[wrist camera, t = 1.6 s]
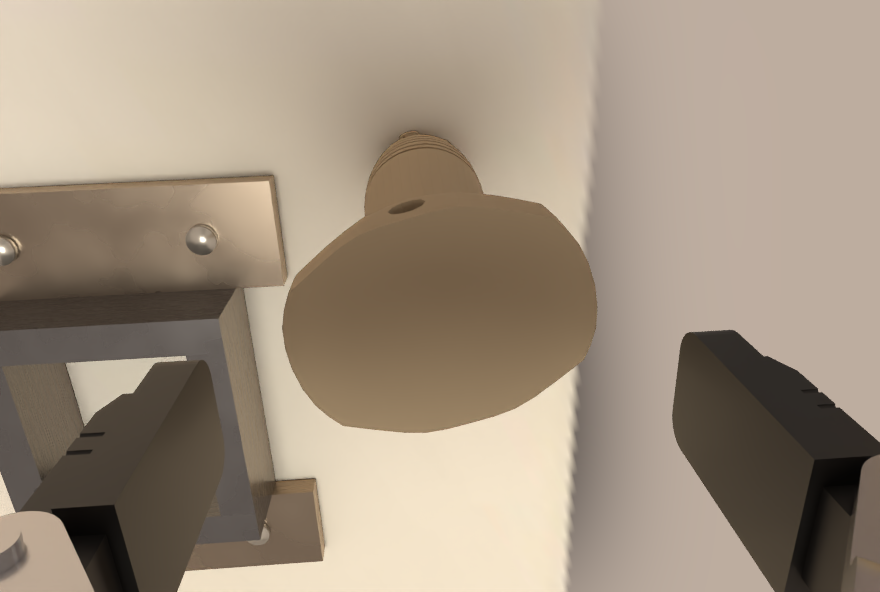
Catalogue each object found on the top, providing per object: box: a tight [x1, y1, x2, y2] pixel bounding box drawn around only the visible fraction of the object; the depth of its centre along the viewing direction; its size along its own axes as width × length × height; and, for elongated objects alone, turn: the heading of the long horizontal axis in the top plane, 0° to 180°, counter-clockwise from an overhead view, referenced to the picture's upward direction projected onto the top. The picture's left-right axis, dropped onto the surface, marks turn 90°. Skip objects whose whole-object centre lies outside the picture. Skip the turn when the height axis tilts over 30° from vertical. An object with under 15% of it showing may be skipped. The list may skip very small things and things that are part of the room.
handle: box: [282, 131, 597, 433], centre depth 20 cm, size 5×6×15 cm
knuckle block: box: [0, 175, 325, 571], centre depth 29 cm, size 20×14×4 cm
